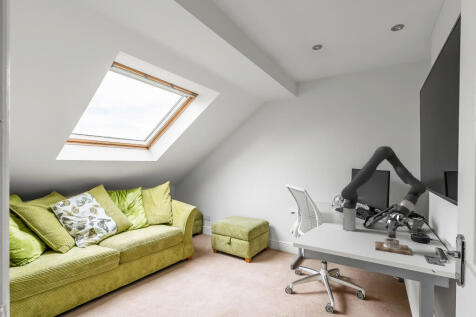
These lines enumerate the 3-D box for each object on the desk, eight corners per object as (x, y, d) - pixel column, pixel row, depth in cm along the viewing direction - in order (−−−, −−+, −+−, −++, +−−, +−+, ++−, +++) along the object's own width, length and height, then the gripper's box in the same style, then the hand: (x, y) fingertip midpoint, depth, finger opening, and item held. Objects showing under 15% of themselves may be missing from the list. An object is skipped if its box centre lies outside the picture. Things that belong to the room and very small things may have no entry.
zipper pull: (425, 221, 200) (422, 227, 181) (425, 229, 200) (422, 236, 181) (412, 219, 206) (408, 225, 187) (412, 227, 206) (408, 233, 187)
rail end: (387, 237, 153) (387, 218, 153) (387, 235, 157) (387, 216, 158) (396, 239, 151) (396, 219, 151) (396, 236, 155) (396, 217, 155)
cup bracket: (375, 249, 152) (375, 241, 152) (375, 243, 165) (375, 235, 165) (410, 255, 144) (410, 245, 144) (407, 248, 156) (407, 239, 156)
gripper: (391, 202, 163) (376, 222, 160) (411, 206, 150) (396, 228, 146) (397, 210, 165) (383, 230, 161) (418, 214, 151) (403, 236, 148)
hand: (389, 229), depth 154 cm, fingers closed on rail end, 4 cm apart
